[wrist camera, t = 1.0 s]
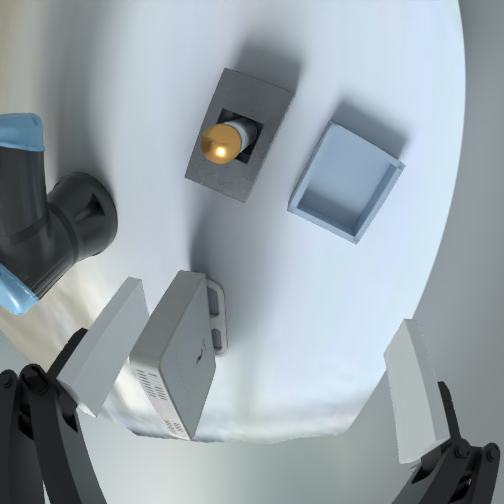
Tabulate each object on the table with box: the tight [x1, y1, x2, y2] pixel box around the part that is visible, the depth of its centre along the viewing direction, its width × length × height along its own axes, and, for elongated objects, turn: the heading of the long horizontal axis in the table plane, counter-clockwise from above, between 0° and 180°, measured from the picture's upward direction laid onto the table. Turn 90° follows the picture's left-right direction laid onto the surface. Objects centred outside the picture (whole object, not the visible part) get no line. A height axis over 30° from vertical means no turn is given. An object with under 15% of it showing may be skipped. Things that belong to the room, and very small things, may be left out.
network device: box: [129, 270, 227, 440], centre depth 41 cm, size 26×9×20 cm, turn 179°
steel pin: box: [201, 118, 257, 164], centre depth 28 cm, size 4×4×10 cm
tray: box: [287, 121, 406, 245], centre depth 32 cm, size 12×10×3 cm
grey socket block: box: [185, 68, 295, 203], centre depth 30 cm, size 14×8×4 cm, turn 158°
